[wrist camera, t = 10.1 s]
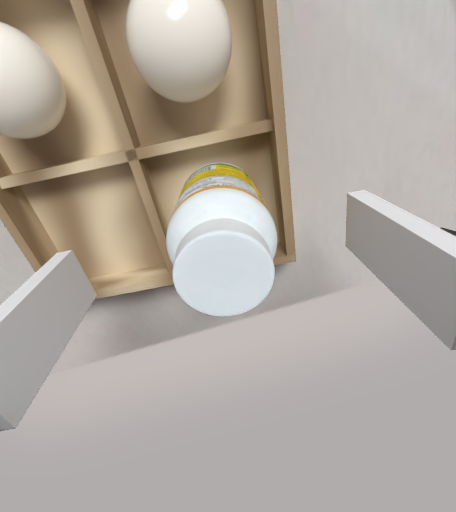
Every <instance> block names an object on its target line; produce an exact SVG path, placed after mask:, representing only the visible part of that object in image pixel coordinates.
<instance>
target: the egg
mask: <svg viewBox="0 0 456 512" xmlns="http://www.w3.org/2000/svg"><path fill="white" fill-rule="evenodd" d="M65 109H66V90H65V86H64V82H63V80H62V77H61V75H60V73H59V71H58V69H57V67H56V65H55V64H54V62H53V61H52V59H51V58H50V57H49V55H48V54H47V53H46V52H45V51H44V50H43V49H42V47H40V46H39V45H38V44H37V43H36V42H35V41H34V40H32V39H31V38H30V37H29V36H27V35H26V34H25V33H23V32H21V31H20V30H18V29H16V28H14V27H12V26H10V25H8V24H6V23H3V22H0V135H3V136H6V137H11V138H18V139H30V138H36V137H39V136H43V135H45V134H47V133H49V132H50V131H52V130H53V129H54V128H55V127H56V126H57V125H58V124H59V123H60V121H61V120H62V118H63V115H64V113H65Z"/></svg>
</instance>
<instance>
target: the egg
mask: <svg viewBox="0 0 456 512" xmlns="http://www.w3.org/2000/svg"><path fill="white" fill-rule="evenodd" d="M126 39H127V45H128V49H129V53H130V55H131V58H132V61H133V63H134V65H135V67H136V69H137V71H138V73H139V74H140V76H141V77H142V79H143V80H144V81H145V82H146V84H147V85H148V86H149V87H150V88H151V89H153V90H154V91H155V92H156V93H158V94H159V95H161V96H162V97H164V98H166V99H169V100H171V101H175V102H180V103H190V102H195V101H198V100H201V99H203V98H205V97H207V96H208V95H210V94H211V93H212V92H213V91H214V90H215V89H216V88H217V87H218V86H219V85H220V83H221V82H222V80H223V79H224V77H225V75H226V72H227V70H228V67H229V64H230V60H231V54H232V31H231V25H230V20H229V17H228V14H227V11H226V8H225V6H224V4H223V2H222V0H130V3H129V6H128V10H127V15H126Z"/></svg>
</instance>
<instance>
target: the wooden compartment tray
mask: <svg viewBox="0 0 456 512" xmlns="http://www.w3.org/2000/svg"><path fill="white" fill-rule="evenodd" d="M222 2H223V4H224V6H225V8H226V11H227V14H228V17H229V20H230V25H231V31H232V54H231V60H230V64H229V67H228V70H227V72H226V75H225V77H224V79H223V80H222V82H221V83H220V85H219V86H218V87H217V88H216V89H215V90H214V91H213V92H212V93H211V94H210V95H208V96H207V97H205V98H203V99H201V100H198V101H195V102H190V103H180V102H175V101H171V100H169V99H166V98H164V97H162V96H161V95H159V94H158V93H156V92H155V91H154V90H153V89H151V88H150V87H149V86H148V85H147V84H146V82H145V81H144V80H143V79H142V77H141V76H140V74H139V73H138V71H137V69H136V67H135V65H134V63H133V61H132V58H131V55H130V53H129V49H128V45H127V39H126V15H127V10H128V6H129V3H130V0H0V22H3V23H6V24H8V25H10V26H12V27H14V28H16V29H18V30H20V31H21V32H23V33H25V34H26V35H27V36H29V37H30V38H31V39H32V40H34V41H35V42H36V43H37V44H38V45H39V46H40V47H42V49H43V50H44V51H45V52H46V53H47V54H48V55H49V57H50V58H51V59H52V61H53V62H54V64H55V65H56V67H57V69H58V71H59V73H60V75H61V77H62V80H63V82H64V86H65V90H66V109H65V113H64V115H63V118H62V120H61V121H60V123H59V124H58V125H57V126H56V127H55V128H54V129H53V130H52V131H50V132H49V133H47V134H45V135H43V136H39V137H36V138H30V139H18V138H11V137H6V136H3V135H0V219H1V221H2V222H3V224H4V225H5V227H6V228H7V230H8V231H9V233H10V234H11V236H12V237H13V239H14V240H15V242H16V243H17V245H18V246H19V248H20V249H21V251H22V252H23V254H24V255H25V257H26V258H27V260H28V261H29V263H30V264H31V266H32V267H33V269H34V270H35V272H37V271H38V270H39V269H40V268H41V267H42V266H43V265H44V264H45V263H46V262H48V261H49V260H50V259H51V258H52V257H53V256H54V255H55V254H56V253H59V252H64V251H69V250H72V251H73V252H74V254H75V256H76V258H77V260H78V261H79V263H80V265H81V267H82V269H83V270H84V272H85V274H86V276H87V278H88V279H89V281H90V283H91V285H92V287H93V288H94V290H95V292H96V294H97V296H96V298H95V299H99V298H104V297H110V296H115V295H120V294H126V293H131V292H136V291H142V290H147V289H152V288H158V287H163V286H168V285H173V284H174V283H173V275H172V272H173V264H172V262H171V260H170V258H169V255H168V251H167V246H166V235H167V229H168V225H169V222H170V219H171V216H172V214H173V212H174V209H175V207H176V204H177V201H178V199H179V196H180V194H181V190H182V188H183V186H184V184H185V182H186V181H187V179H188V178H189V176H190V175H191V174H192V173H193V172H194V171H196V170H197V169H199V168H200V167H202V166H204V165H207V164H211V163H228V164H232V165H235V166H237V167H239V168H240V169H242V170H243V171H244V172H246V173H247V174H248V176H249V177H250V178H251V180H252V181H253V183H254V185H255V186H256V188H257V190H258V192H259V194H260V196H261V198H262V199H263V201H264V203H265V205H266V207H267V209H268V210H269V212H270V214H271V216H272V218H273V221H274V224H275V227H276V231H277V249H276V253H275V256H274V259H273V262H274V265H280V264H285V263H290V262H295V261H296V254H295V241H294V228H293V214H292V201H291V188H290V175H289V162H288V149H287V136H286V122H285V109H284V96H283V83H282V70H281V57H280V43H279V30H278V17H277V4H276V0H222Z"/></svg>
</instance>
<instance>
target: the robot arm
mask: <svg viewBox="0 0 456 512" xmlns="http://www.w3.org/2000/svg"><path fill="white" fill-rule="evenodd" d="M346 247H347V248H348V249H349V250H350V251H351V252H352V253H353V254H354V255H355V256H356V257H357V258H358V259H359V260H360V261H361V262H362V263H363V264H364V265H365V266H366V267H367V268H368V269H369V270H370V271H371V272H372V273H373V274H374V275H375V276H376V277H377V278H379V279H380V280H381V281H382V282H383V283H384V284H385V285H386V286H387V287H388V288H389V289H390V290H391V291H392V292H393V293H394V294H395V295H396V296H397V297H398V298H399V299H400V300H401V301H402V302H403V303H404V304H405V305H406V306H407V307H408V308H409V309H410V310H411V311H412V312H413V313H414V314H415V315H416V316H417V317H418V318H419V319H420V320H421V321H422V322H423V323H424V324H425V325H426V326H427V327H428V328H429V329H430V330H431V331H432V332H433V333H434V334H435V335H436V336H437V337H438V338H439V339H440V340H441V341H442V342H443V343H444V344H445V345H446V346H447V347H448V348H449V349H450V350H455V349H456V231H452V230H449V229H445V228H438V227H436V226H434V225H432V224H430V223H429V222H427V221H425V220H423V219H421V218H419V217H417V216H415V215H413V214H411V213H409V212H407V211H405V210H403V209H401V208H399V207H397V206H395V205H393V204H391V203H389V202H387V201H385V200H383V199H381V198H379V197H377V196H376V195H374V194H372V193H370V192H368V191H366V190H360V191H355V192H350V193H347V216H346ZM96 296H97V294H96V292H95V290H94V288H93V287H92V285H91V283H90V281H89V279H88V278H87V276H86V274H85V272H84V270H83V269H82V267H81V265H80V263H79V261H78V260H77V258H76V256H75V254H74V252H73V251H72V250H69V251H64V252H59V253H56V254H55V255H54V256H53V257H52V258H51V259H50V260H49V261H48V262H46V263H45V264H44V265H43V266H42V267H41V268H40V269H39V270H38V271H37V272H36V273H35V274H34V275H32V276H31V277H30V278H29V279H28V280H27V281H26V282H25V283H24V284H23V285H22V286H21V287H20V288H19V289H17V290H16V291H15V292H14V293H13V294H12V295H11V296H10V297H9V298H8V299H7V300H6V301H5V302H3V303H2V304H1V305H0V431H4V430H9V429H15V428H16V427H17V426H18V424H19V422H20V421H21V419H22V417H23V416H24V414H25V412H26V411H27V409H28V408H29V406H30V404H31V403H32V401H33V399H34V397H35V396H36V394H37V393H38V391H39V390H40V388H41V386H42V384H43V383H44V381H45V380H46V378H47V376H48V375H49V373H50V371H51V370H52V368H53V367H54V365H55V363H56V362H57V360H58V358H59V357H60V355H61V353H62V352H63V350H64V349H65V347H66V345H67V344H68V342H69V340H70V339H71V337H72V335H73V334H74V332H75V331H76V329H77V327H78V326H79V324H80V322H81V321H82V319H83V317H84V316H85V314H86V313H87V311H88V309H89V308H90V306H91V304H92V303H93V301H94V299H95V298H96Z"/></svg>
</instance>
